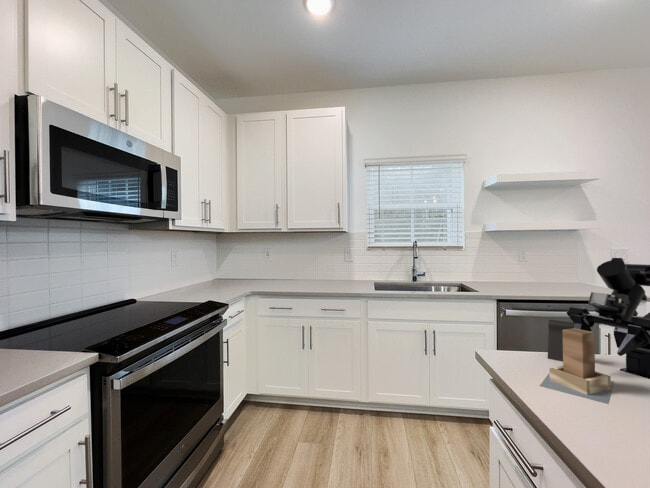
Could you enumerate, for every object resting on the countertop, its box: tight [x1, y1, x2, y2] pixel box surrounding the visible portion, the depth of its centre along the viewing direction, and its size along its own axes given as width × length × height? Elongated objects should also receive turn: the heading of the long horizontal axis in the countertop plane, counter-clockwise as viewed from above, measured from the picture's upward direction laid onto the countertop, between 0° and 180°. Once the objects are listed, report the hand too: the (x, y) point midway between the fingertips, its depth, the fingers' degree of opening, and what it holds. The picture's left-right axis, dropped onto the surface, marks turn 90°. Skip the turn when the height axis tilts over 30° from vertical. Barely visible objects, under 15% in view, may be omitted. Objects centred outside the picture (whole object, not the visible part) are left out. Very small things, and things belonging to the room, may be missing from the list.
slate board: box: [538, 372, 615, 405], centre depth 76 cm, size 16×12×1 cm
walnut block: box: [562, 327, 596, 379], centre depth 76 cm, size 4×4×13 cm
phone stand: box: [547, 319, 575, 363], centre depth 95 cm, size 9×6×12 cm, turn 136°
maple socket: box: [549, 365, 612, 395], centre depth 76 cm, size 8×8×3 cm
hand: (596, 348), depth 78 cm, fingers open, 9 cm apart
